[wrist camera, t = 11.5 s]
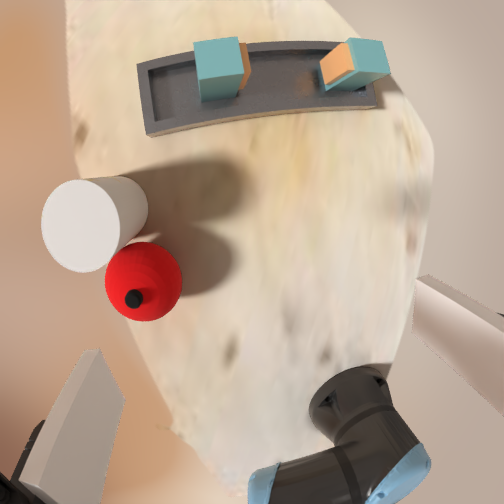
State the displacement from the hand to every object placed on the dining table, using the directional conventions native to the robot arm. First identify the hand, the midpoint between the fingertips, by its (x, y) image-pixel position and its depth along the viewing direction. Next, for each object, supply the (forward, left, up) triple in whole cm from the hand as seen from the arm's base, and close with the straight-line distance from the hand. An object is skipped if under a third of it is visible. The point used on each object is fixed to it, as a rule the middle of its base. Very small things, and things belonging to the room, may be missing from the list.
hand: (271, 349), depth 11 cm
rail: (+17, -7, -26) cm, 32 cm away
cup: (+5, +13, -27) cm, 30 cm away
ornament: (-4, +11, -27) cm, 29 cm away
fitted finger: (+17, -17, -25) cm, 35 cm away
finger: (+17, -2, -25) cm, 31 cm away
